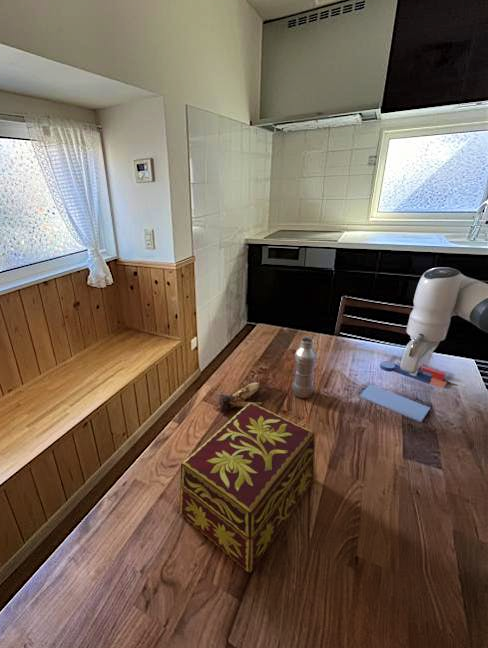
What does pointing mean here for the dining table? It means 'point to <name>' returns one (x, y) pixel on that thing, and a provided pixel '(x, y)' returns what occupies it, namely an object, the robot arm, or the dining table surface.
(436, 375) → the red spoon
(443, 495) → the dining table surface
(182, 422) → the dining table surface
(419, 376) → the blue spoon
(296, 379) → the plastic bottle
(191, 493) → the decorative box
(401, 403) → the blue mat
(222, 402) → the worn brush
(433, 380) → the terracotta mat
